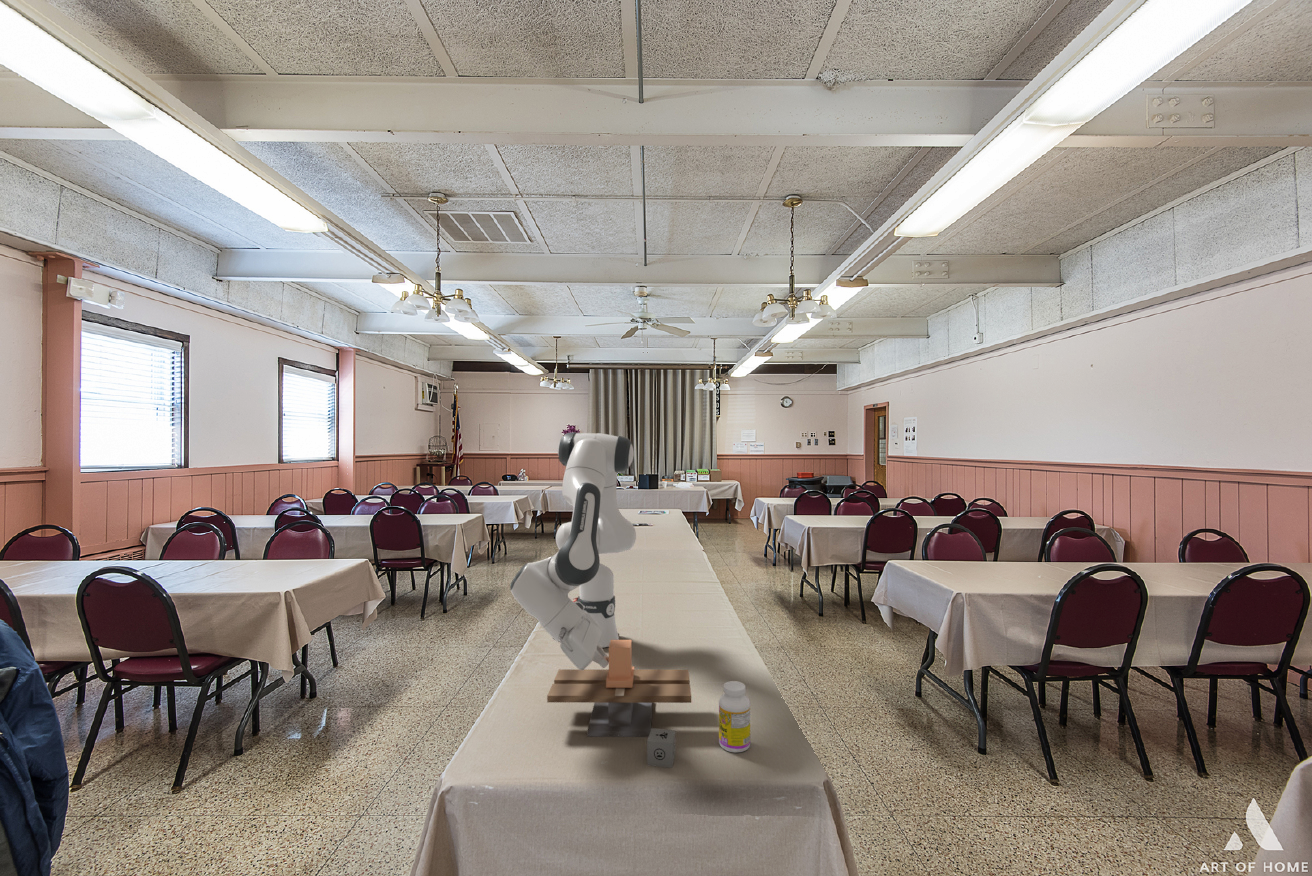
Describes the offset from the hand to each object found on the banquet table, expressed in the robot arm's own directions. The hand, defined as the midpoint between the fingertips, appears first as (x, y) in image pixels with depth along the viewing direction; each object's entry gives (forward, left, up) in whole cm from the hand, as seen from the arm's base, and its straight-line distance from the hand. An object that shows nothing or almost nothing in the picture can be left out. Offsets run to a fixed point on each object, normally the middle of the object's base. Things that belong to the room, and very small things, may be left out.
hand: (607, 663), depth 132 cm
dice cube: (+20, -6, -13) cm, 25 cm away
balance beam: (+3, +2, -13) cm, 13 cm away
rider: (+3, +2, -5) cm, 6 cm away
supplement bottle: (+30, +7, -13) cm, 33 cm away
